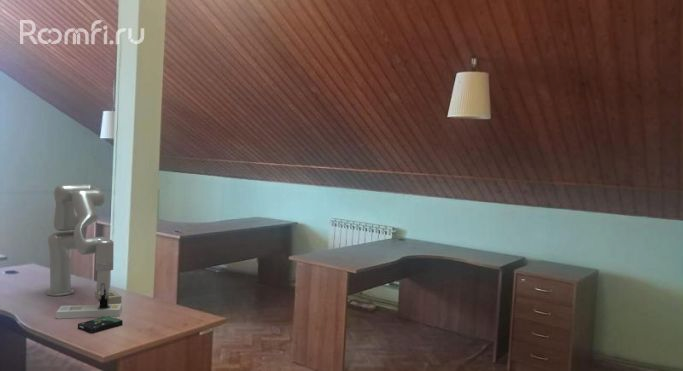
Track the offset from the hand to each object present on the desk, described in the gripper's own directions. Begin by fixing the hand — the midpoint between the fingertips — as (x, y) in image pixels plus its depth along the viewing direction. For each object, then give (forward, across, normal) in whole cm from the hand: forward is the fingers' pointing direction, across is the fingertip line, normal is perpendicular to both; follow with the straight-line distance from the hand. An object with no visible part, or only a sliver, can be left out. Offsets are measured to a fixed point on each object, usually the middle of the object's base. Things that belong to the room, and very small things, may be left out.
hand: (104, 305), depth 262 cm
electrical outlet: (+4, -24, -1) cm, 24 cm away
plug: (+2, 0, 0) cm, 2 cm away
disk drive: (+4, +19, +1) cm, 20 cm away
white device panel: (+4, 0, -6) cm, 7 cm away
